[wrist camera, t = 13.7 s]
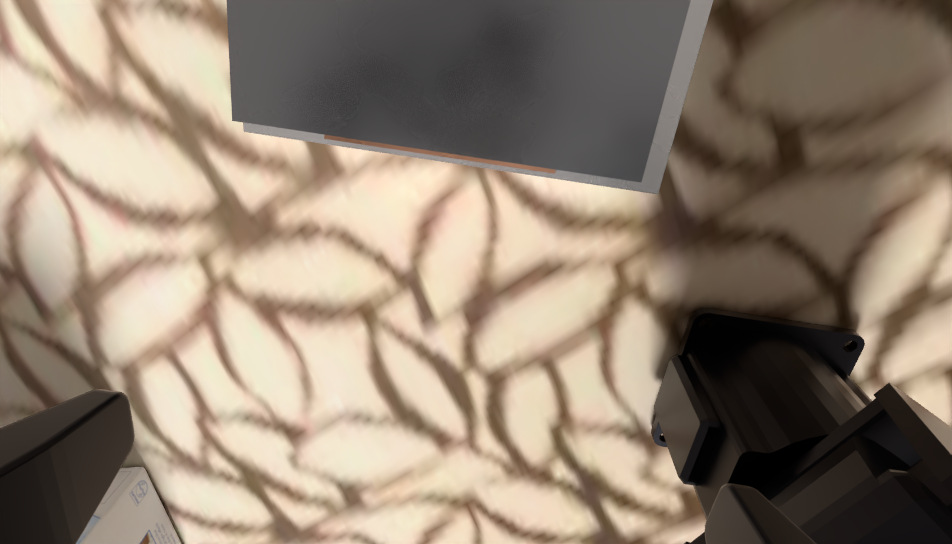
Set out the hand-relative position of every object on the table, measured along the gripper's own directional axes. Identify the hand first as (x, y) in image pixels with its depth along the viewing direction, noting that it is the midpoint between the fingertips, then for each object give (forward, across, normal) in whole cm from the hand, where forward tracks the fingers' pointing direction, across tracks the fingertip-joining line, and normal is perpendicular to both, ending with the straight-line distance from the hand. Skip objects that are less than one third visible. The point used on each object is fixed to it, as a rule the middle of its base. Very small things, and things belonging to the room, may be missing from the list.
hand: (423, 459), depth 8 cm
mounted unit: (+13, +1, -5) cm, 14 cm away
